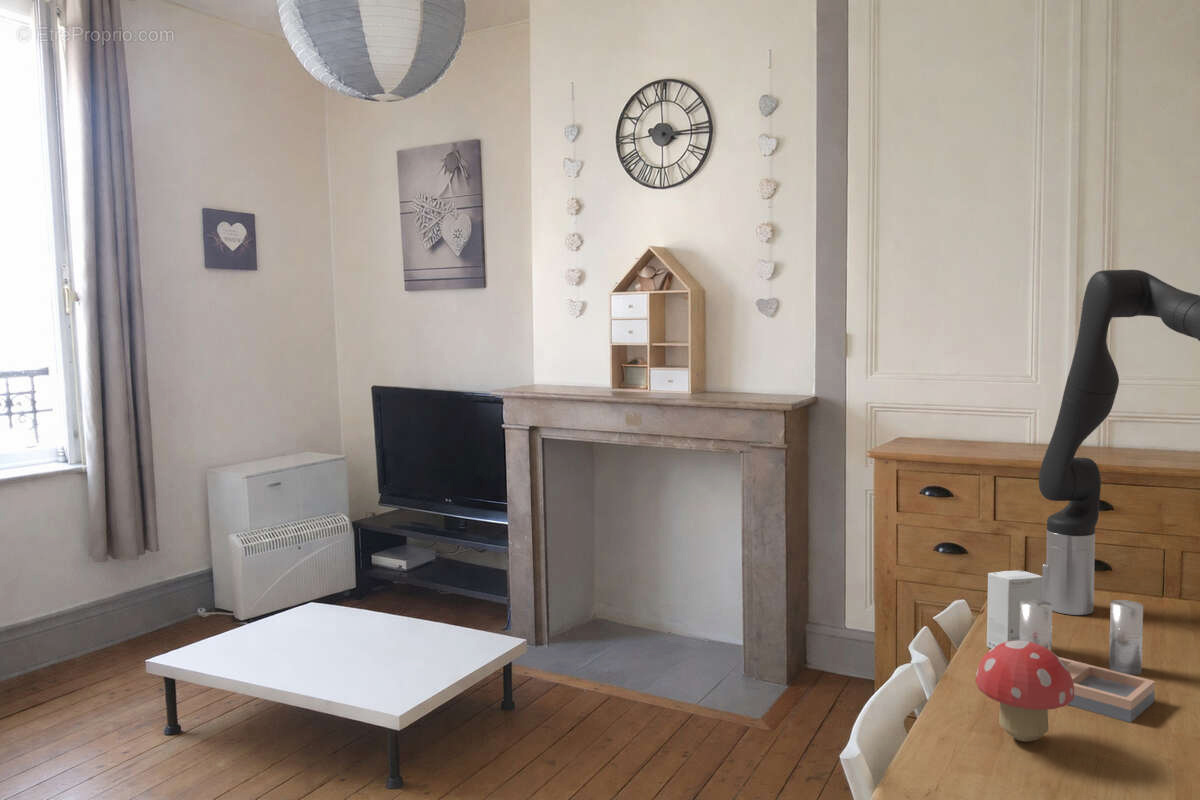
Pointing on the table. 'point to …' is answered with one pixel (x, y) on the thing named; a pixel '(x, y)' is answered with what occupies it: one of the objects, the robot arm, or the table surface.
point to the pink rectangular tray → (1109, 691)
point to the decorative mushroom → (1024, 686)
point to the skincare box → (1009, 603)
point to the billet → (1126, 637)
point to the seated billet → (1036, 622)
